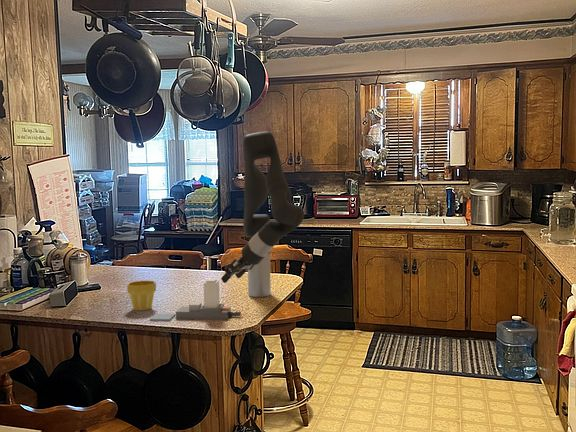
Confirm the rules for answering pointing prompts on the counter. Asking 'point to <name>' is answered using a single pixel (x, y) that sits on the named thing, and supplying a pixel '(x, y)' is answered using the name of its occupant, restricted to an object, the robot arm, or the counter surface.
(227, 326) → the counter surface
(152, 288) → the plant pot
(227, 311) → the power strip
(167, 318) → the pad
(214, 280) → the block
